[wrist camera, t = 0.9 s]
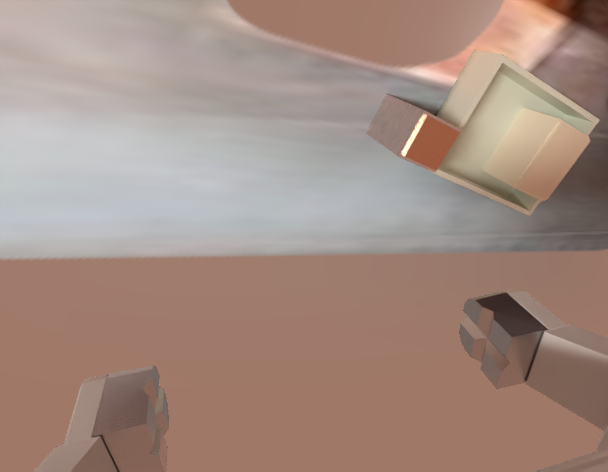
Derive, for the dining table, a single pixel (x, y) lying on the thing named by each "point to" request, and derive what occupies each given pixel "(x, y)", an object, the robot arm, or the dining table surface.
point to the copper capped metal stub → (412, 133)
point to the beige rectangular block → (536, 153)
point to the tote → (497, 121)
